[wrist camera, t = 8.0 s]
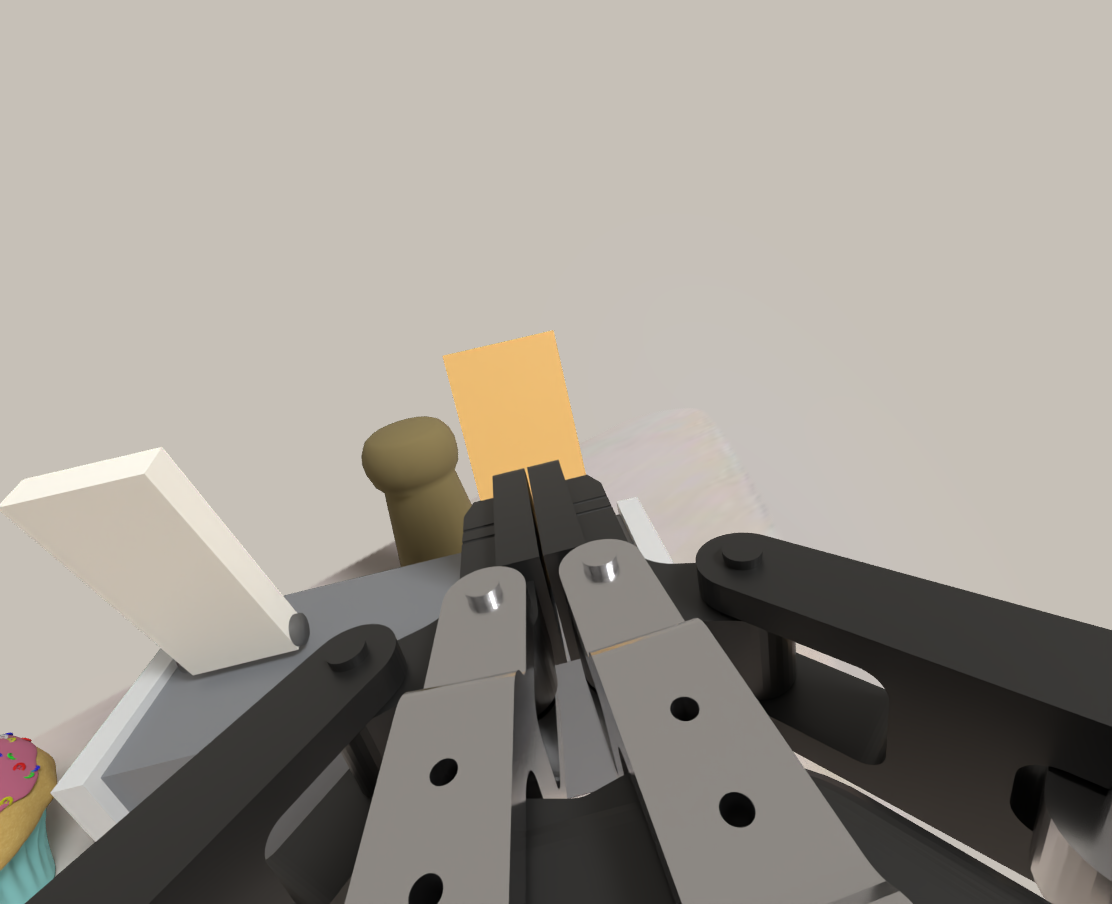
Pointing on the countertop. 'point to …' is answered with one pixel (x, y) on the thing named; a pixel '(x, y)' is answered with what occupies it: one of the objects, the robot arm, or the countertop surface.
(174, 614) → the rocker switch
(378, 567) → the countertop surface
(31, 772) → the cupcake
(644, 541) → the switch box
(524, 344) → the outlet rocker
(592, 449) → the countertop surface
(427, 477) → the cork
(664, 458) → the countertop surface
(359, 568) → the countertop surface
